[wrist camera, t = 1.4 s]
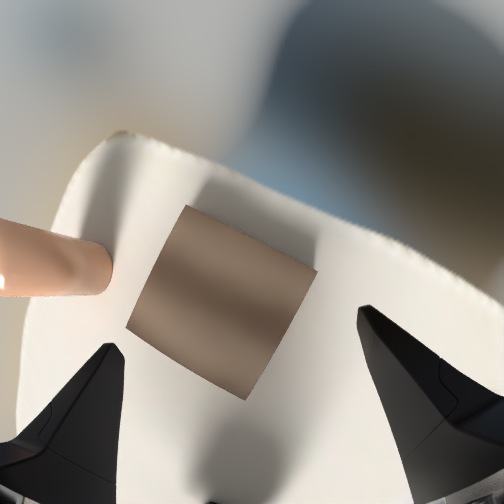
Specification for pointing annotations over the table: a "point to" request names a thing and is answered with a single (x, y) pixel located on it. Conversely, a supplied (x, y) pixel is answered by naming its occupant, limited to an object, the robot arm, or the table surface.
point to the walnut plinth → (219, 301)
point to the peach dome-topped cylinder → (50, 263)
